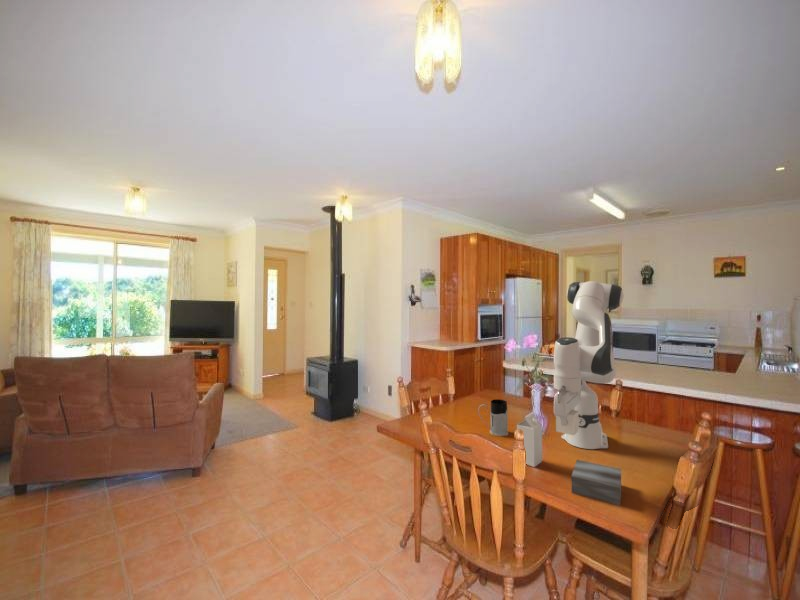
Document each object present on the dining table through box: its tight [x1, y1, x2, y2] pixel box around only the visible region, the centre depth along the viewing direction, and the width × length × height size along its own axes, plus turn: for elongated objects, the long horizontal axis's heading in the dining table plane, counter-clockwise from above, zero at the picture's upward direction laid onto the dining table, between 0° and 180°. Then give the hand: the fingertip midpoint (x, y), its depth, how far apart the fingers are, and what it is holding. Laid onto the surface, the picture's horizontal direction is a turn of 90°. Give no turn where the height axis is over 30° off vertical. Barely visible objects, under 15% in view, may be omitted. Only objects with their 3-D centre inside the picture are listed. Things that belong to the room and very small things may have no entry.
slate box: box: [570, 459, 622, 506], centre depth 123 cm, size 14×14×6 cm
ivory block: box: [555, 410, 579, 435], centre depth 129 cm, size 6×6×7 cm
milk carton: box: [516, 411, 543, 468], centre depth 144 cm, size 7×7×19 cm
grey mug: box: [478, 399, 509, 437], centre depth 174 cm, size 9×14×15 cm, turn 90°
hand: (567, 422), depth 129 cm, fingers closed on ivory block, 6 cm apart
